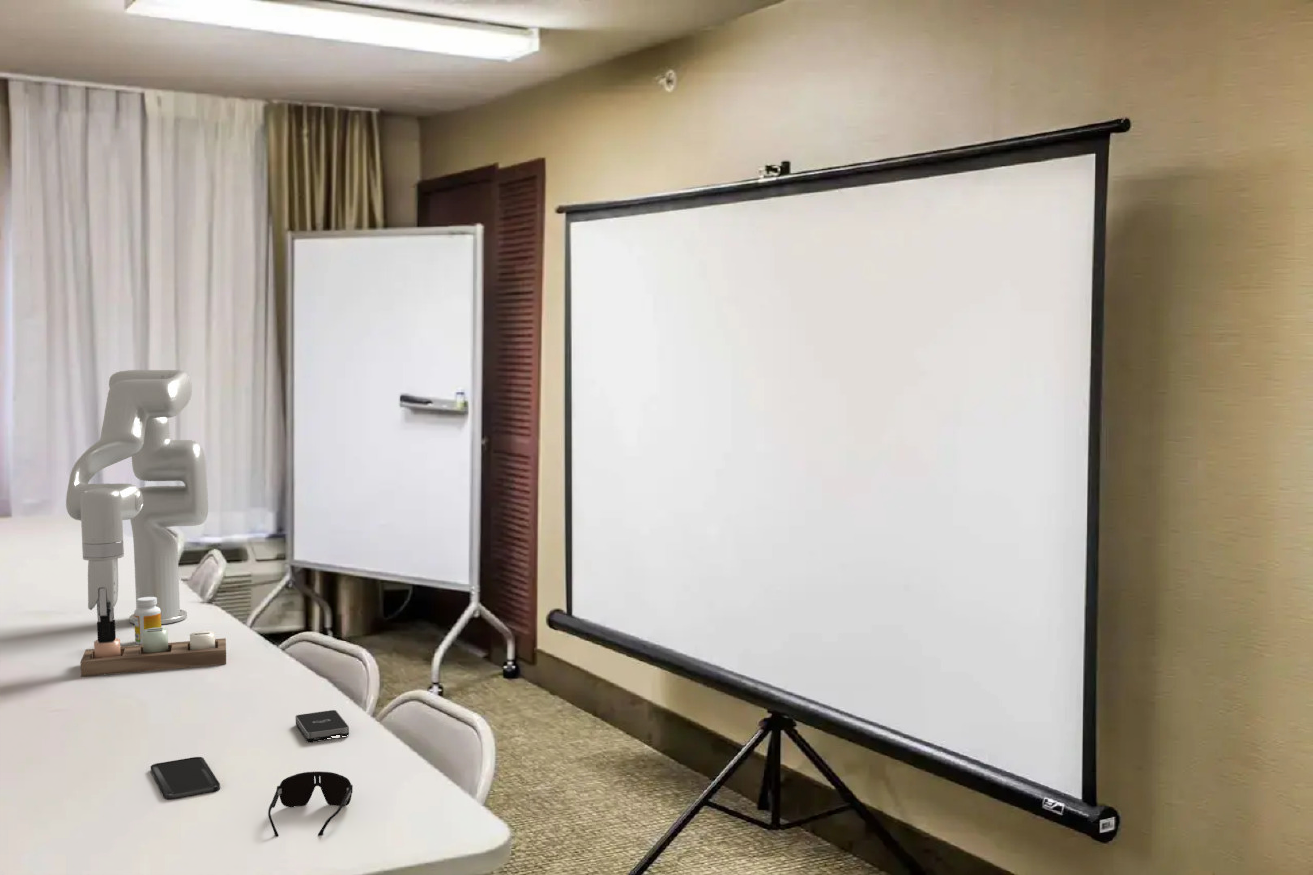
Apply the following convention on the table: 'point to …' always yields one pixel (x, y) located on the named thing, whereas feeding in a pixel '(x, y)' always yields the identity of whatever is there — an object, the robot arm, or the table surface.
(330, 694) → the table surface
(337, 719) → the external hard drive
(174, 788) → the phone
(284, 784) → the sunglasses
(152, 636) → the button
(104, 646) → the button
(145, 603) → the supplement bottle
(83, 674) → the button board
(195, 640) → the button
